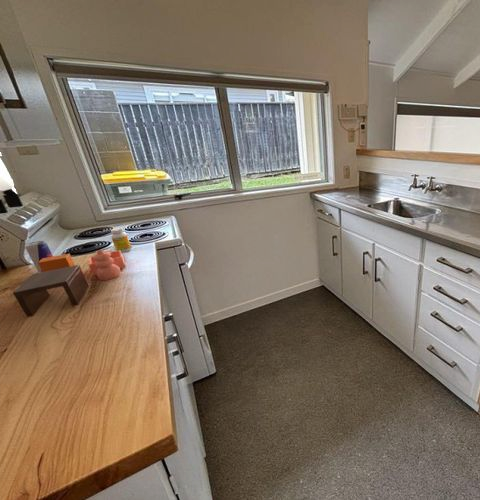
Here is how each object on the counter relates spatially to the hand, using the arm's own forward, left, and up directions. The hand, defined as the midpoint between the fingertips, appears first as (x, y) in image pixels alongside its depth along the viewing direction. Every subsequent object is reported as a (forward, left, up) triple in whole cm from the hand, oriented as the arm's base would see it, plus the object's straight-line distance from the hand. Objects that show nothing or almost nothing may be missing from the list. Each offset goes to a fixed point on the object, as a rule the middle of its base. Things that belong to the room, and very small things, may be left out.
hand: (8, 210), depth 87 cm
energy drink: (-2, +10, -26) cm, 28 cm away
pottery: (+17, -1, -26) cm, 31 cm away
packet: (+5, -2, -26) cm, 27 cm away
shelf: (+8, -18, -26) cm, 33 cm away
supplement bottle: (+19, +22, -26) cm, 39 cm away
